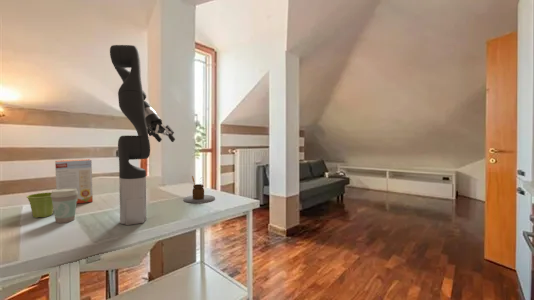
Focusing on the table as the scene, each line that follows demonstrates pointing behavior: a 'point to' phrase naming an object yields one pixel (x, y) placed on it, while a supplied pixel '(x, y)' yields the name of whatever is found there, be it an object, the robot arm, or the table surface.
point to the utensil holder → (198, 190)
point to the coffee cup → (64, 204)
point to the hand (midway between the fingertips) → (167, 140)
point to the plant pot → (41, 204)
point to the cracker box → (75, 177)
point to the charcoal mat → (206, 199)
